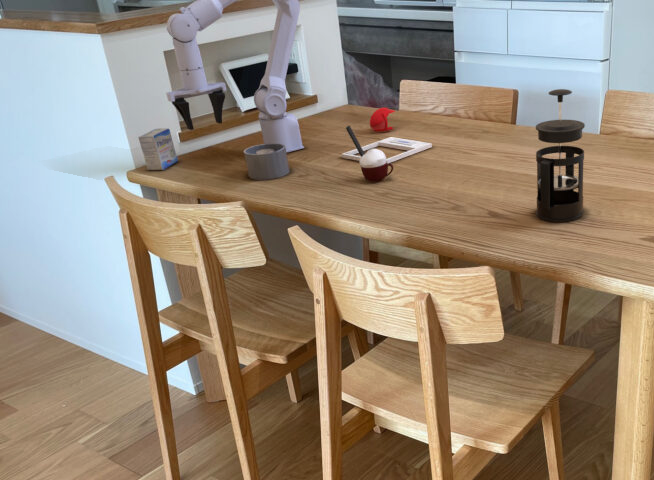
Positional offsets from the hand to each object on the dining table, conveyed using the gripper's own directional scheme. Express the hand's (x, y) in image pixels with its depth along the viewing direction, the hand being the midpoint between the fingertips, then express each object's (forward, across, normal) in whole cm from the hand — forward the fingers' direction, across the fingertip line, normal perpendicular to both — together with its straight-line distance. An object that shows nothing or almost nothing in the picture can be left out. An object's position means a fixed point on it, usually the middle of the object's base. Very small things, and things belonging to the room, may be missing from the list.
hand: (205, 126), depth 190 cm
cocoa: (+10, +19, -46) cm, 51 cm away
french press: (+10, +29, -95) cm, 100 cm away
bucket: (+9, +5, -21) cm, 23 cm away
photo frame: (+9, +34, -30) cm, 46 cm away
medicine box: (+10, -10, +9) cm, 17 cm away
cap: (+10, +47, -10) cm, 49 cm away
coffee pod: (+9, +5, -21) cm, 23 cm away
